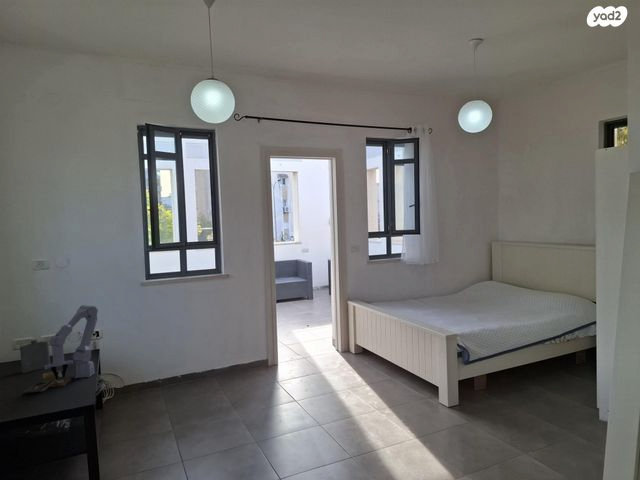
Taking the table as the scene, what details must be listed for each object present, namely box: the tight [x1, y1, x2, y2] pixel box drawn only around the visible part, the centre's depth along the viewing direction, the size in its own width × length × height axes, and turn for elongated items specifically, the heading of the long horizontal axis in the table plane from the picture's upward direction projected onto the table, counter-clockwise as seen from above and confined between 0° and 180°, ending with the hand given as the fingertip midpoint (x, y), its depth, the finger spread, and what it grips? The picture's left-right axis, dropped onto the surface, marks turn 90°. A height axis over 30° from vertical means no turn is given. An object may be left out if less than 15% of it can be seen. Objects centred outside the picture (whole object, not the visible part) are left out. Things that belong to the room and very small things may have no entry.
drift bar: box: [22, 372, 57, 394], centre depth 249 cm, size 20×8×4 cm, turn 4°
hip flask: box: [19, 339, 51, 374], centre depth 284 cm, size 16×4×20 cm, turn 132°
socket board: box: [34, 380, 55, 392], centre depth 249 cm, size 9×12×2 cm
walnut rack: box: [50, 378, 72, 388], centre depth 253 cm, size 8×8×2 cm
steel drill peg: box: [56, 369, 64, 383], centre depth 253 cm, size 4×4×7 cm
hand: (60, 378), depth 253 cm, fingers closed on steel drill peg, 3 cm apart
